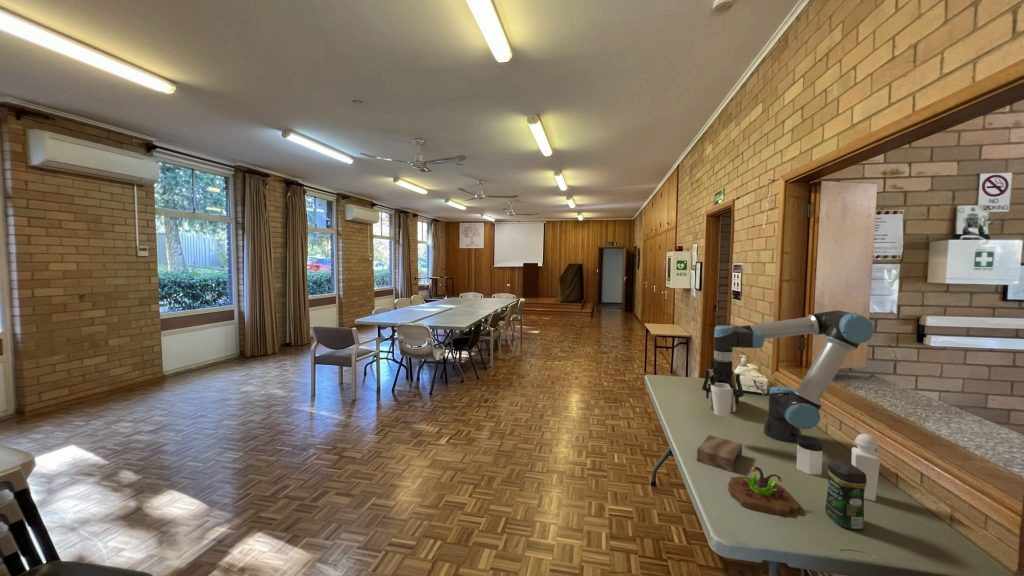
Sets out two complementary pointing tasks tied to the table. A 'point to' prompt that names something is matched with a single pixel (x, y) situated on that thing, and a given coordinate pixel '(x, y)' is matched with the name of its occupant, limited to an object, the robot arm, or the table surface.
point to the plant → (762, 494)
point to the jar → (809, 455)
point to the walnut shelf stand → (719, 452)
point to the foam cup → (722, 398)
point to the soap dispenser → (867, 463)
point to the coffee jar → (845, 494)
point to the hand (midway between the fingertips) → (722, 408)
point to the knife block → (721, 382)
